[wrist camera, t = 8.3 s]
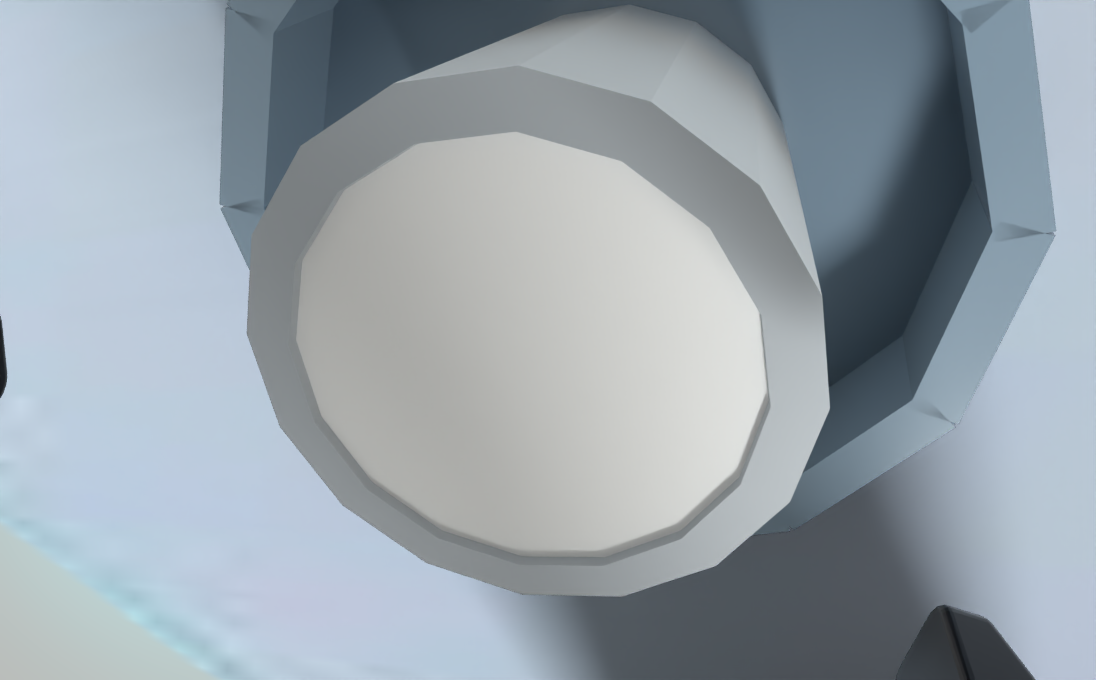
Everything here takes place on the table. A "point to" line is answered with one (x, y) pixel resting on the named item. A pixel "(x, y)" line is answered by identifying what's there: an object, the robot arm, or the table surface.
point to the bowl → (817, 158)
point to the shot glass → (551, 307)
